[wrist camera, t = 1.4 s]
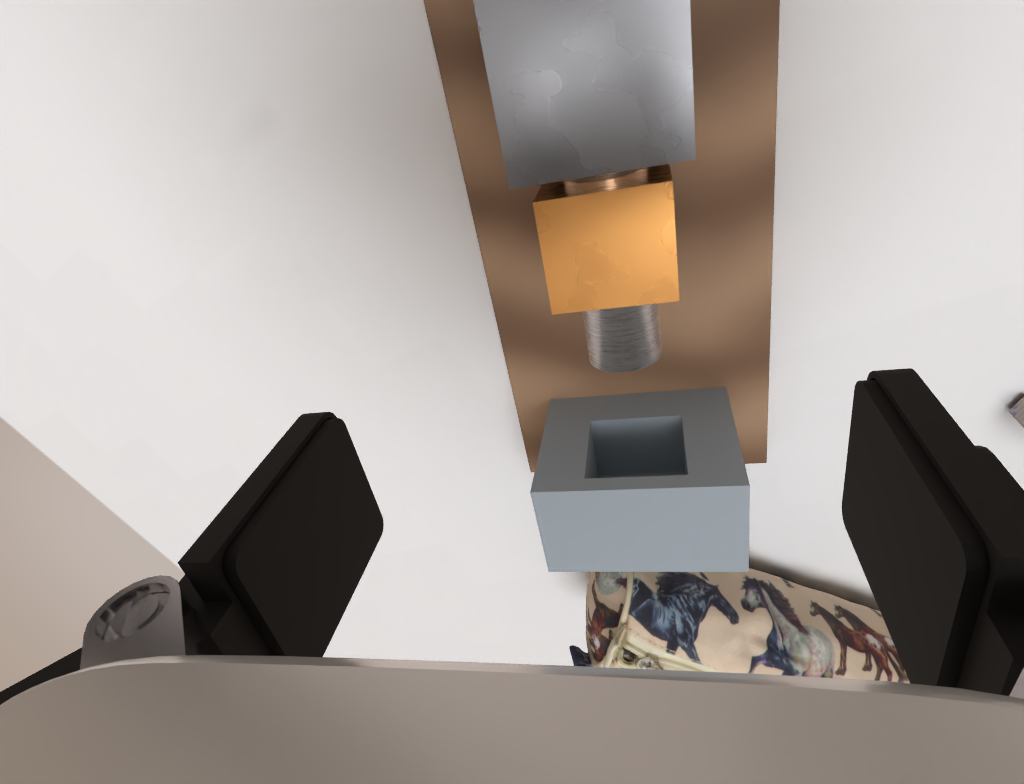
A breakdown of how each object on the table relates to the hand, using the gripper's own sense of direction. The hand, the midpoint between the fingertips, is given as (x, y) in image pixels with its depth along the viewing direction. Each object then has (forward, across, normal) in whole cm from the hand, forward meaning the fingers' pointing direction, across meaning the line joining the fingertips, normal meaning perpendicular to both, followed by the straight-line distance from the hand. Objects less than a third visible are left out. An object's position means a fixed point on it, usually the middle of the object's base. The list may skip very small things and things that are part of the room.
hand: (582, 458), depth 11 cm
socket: (+18, 0, +12) cm, 22 cm away
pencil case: (+20, -6, +27) cm, 34 cm away
